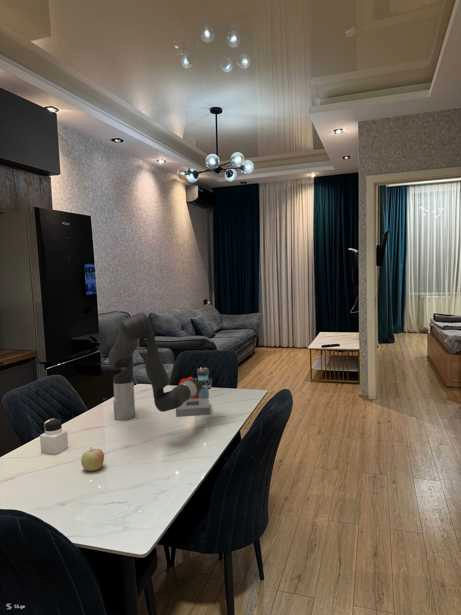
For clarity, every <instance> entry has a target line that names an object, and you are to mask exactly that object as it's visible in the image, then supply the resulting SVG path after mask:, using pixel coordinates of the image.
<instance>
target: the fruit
mask: <svg viewBox="0 0 461 615" xmlns="http://www.w3.org/2000/svg"><path fill="white" fill-rule="evenodd" d="M104 460H105V454H104V451H103V450H102V449H100V448H92V447H90V449H88V450H86V451H84V452H83V453H82V456H81V459H80V462H81V466H82V468H83V469H84V470H86V471H91V472H93V471H97V470H100V469H101V467H102V466H103V464H104Z"/></svg>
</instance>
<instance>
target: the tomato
mask: <svg viewBox="0 0 461 615" xmlns="http://www.w3.org/2000/svg"><path fill="white" fill-rule="evenodd" d="M197 378H198V377H196V379H197ZM188 379H195V378H194V377H192V376H189V377H187V378H182V379H180V380H179V382H178V385H177V386H179V385H180V384H181V383H183V381H185V380H188ZM194 398H199V394H197V395H196V396H194V397H193V398H191V399H194Z"/></svg>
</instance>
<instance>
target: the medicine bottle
mask: <svg viewBox="0 0 461 615" xmlns="http://www.w3.org/2000/svg"><path fill="white" fill-rule="evenodd" d="M68 439H69V438H68V430H66V429H63V426H62V420H61V419H59V418H51V419H48V420H46V421H45V422H44V432H43V433H42V434H40V435H39V442H40V443H39V444H40V453H41V454H47V455H53V456H55V455H59V454H60V453H61V452H64V451H65V450H66V449H68V448H69V440H68Z"/></svg>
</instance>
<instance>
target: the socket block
mask: <svg viewBox="0 0 461 615" xmlns="http://www.w3.org/2000/svg"><path fill="white" fill-rule="evenodd" d="M209 415H211V406H210V401H209V398H206V399H201V398H199V397H197V398H194V399H189V400H187V401H185V402H184V403H183V404H182V405H181V406H180V407H178V408H176V409H175V417H176V418H177V417H178V418H179V417H180V418H181V417H193V416H209Z"/></svg>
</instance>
